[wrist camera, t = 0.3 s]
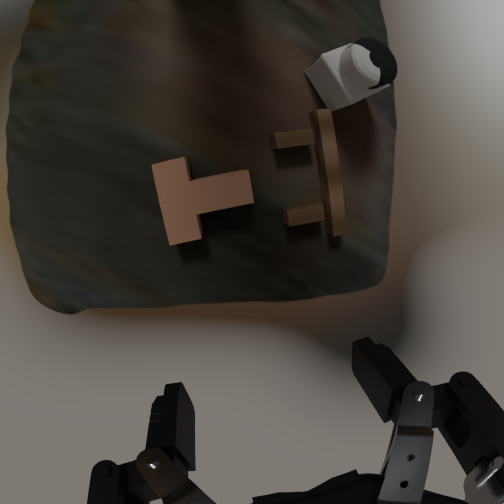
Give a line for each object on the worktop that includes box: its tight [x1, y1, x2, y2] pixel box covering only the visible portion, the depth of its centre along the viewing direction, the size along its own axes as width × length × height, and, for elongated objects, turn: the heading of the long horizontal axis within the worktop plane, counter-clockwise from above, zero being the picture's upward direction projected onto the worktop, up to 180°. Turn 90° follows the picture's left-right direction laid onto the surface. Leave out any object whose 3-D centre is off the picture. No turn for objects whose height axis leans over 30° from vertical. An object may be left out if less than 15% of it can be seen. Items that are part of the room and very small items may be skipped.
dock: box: [269, 109, 347, 236], centre depth 36 cm, size 17×8×3 cm, turn 10°
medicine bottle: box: [304, 38, 397, 112], centre depth 28 cm, size 7×7×12 cm
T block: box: [152, 157, 254, 245], centre depth 34 cm, size 10×11×4 cm
